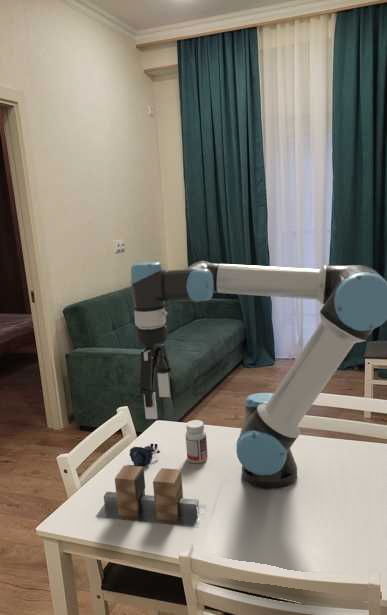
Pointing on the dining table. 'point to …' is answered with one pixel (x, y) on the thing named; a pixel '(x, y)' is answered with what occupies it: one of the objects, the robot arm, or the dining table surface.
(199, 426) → the pill bottle
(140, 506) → the rail
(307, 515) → the dining table surface
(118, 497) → the wooden block
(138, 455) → the toy
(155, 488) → the walnut finger
